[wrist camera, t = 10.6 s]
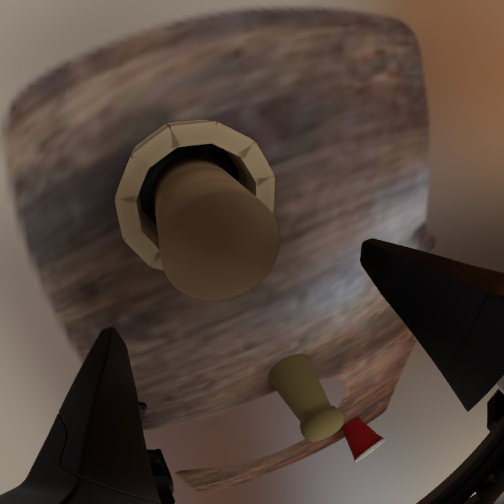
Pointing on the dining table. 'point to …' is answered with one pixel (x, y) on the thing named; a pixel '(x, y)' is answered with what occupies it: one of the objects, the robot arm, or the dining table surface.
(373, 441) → the plastic cup
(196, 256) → the walnut peg
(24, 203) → the dining table surface
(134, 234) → the wooden ring
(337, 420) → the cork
